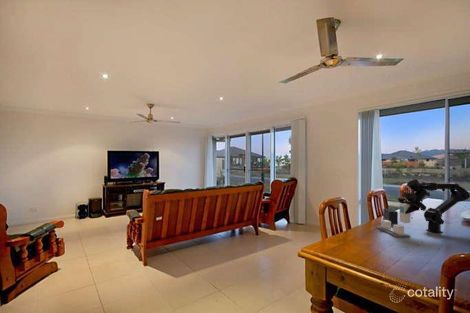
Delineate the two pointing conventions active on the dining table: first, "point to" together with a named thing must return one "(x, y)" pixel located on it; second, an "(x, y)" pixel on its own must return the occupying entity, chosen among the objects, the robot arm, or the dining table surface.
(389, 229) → the mounting plate
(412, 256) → the dining table surface
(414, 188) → the robot arm
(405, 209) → the block
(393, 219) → the small box
